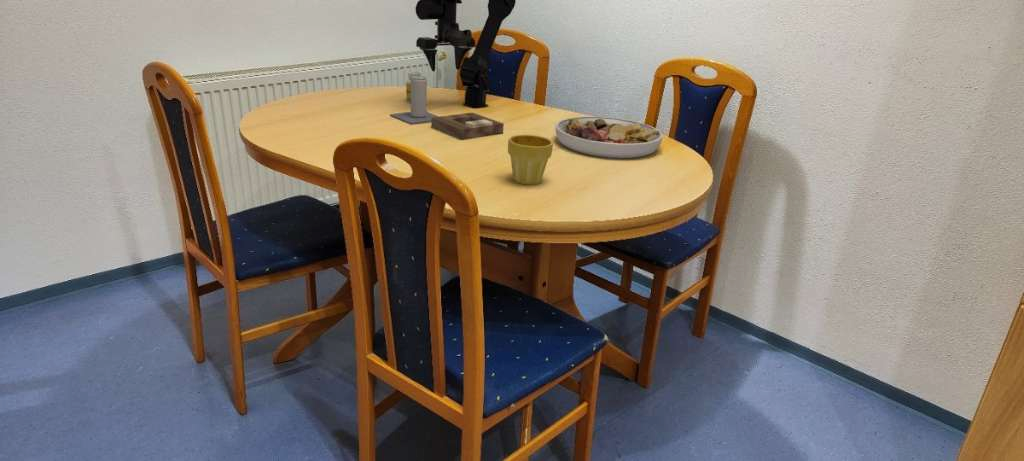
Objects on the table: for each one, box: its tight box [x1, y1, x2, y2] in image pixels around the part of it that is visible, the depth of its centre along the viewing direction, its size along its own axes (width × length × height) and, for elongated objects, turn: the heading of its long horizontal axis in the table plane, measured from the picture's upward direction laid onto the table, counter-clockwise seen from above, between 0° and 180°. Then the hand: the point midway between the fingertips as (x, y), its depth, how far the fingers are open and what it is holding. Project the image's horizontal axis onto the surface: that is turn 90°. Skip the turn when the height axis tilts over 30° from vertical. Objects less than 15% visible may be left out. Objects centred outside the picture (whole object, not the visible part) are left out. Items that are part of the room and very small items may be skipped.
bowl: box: [555, 116, 664, 159], centre depth 190 cm, size 30×30×8 cm
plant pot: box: [507, 133, 554, 186], centre depth 156 cm, size 10×10×10 cm
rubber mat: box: [389, 111, 440, 126], centre depth 206 cm, size 12×12×1 cm
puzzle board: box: [430, 112, 505, 141], centre depth 196 cm, size 15×15×4 cm
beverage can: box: [410, 75, 428, 118], centre depth 204 cm, size 5×5×12 cm
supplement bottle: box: [405, 71, 421, 104], centre depth 224 cm, size 5×5×10 cm
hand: (445, 70), depth 212 cm, fingers open, 9 cm apart
